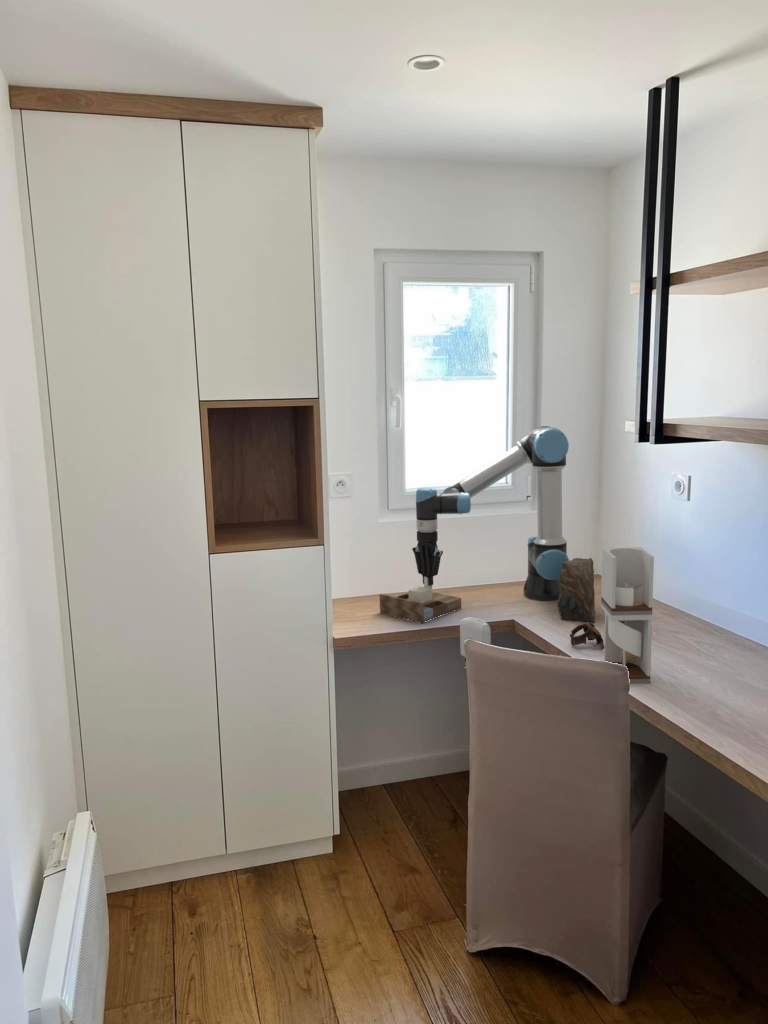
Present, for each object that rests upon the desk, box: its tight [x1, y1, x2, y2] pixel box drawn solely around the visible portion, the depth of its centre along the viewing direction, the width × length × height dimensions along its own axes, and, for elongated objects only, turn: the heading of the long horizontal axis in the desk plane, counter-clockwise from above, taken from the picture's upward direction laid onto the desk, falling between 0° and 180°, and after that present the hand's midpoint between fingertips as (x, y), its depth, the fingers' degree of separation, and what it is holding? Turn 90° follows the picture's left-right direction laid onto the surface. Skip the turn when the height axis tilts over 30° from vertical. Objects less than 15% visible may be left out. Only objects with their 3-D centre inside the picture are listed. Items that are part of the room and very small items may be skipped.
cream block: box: [408, 585, 433, 603], centre depth 274 cm, size 6×6×4 cm
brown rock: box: [557, 557, 596, 624], centre depth 261 cm, size 13×13×20 cm
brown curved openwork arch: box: [569, 622, 605, 651], centre depth 234 cm, size 12×10×8 cm
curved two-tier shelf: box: [600, 546, 655, 684], centre depth 207 cm, size 11×11×35 cm
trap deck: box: [378, 591, 462, 624], centre depth 275 cm, size 20×22×7 cm
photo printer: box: [459, 616, 492, 658], centre depth 226 cm, size 10×4×12 cm, turn 39°
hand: (428, 593), depth 278 cm, fingers closed
